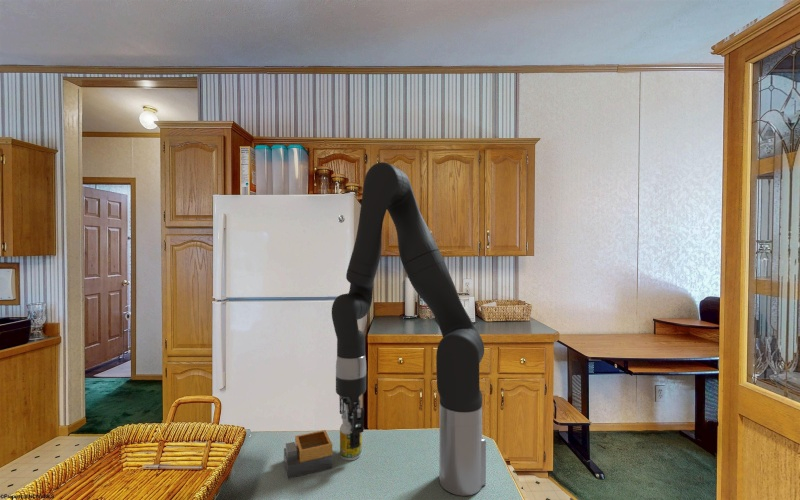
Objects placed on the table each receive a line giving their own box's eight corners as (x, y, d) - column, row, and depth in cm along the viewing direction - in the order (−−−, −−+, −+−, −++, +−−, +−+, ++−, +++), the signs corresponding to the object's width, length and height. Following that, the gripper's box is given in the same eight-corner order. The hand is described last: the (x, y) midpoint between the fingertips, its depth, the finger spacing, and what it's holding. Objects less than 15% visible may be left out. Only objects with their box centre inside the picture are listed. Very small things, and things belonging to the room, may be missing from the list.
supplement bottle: (355, 446, 92) (355, 409, 92) (365, 456, 88) (365, 417, 88) (336, 453, 89) (336, 414, 89) (345, 463, 85) (345, 423, 85)
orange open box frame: (325, 451, 90) (325, 429, 90) (332, 468, 83) (332, 444, 83) (283, 460, 86) (283, 438, 86) (287, 479, 79) (287, 454, 79)
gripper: (375, 380, 84) (375, 451, 84) (356, 362, 97) (356, 424, 97) (344, 385, 81) (343, 459, 80) (329, 366, 94) (329, 430, 94)
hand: (350, 440), depth 89 cm, fingers open, 6 cm apart
